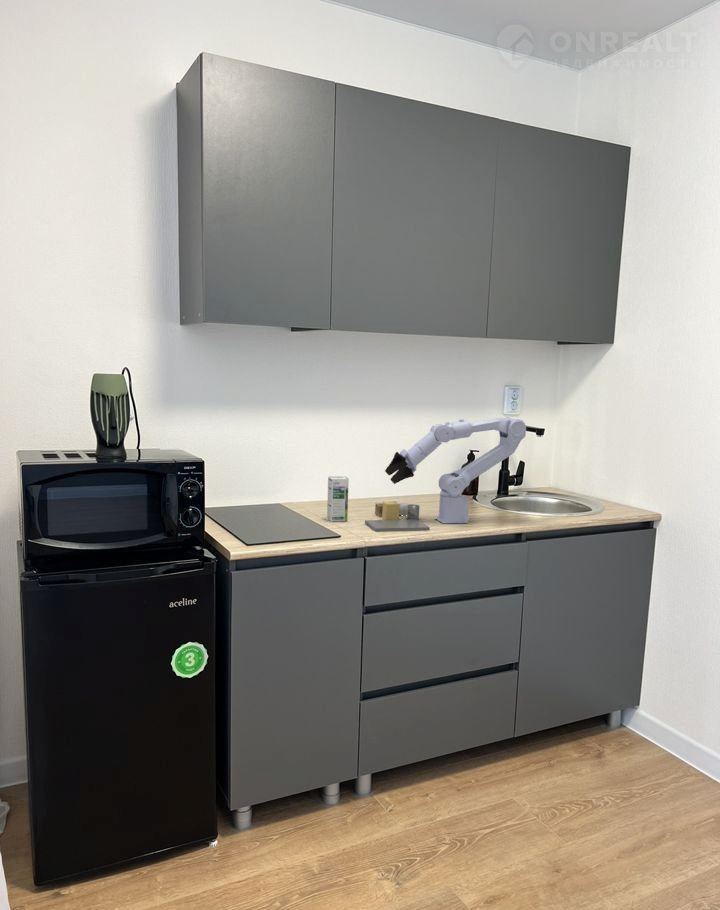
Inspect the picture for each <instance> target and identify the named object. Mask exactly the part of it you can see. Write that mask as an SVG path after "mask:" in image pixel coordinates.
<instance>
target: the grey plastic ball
mask: <svg viewBox="0 0 720 910" xmlns="http://www.w3.org/2000/svg"><path fill="white" fill-rule="evenodd" d="M398 503H399V502H398ZM399 504H400V508H399V515H403V516H406V515H407V511H408V505H409V504H410V503H406V502H404V503H403V502H402V503H399Z"/></svg>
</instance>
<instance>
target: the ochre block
mask: <svg viewBox="0 0 720 910" xmlns="http://www.w3.org/2000/svg"><path fill="white" fill-rule="evenodd" d="M382 503H383V510H382V517H381V520H400V516H399V508H400V504H399V502H397V501H382Z"/></svg>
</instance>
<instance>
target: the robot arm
mask: <svg viewBox="0 0 720 910" xmlns="http://www.w3.org/2000/svg"><path fill="white" fill-rule="evenodd" d="M485 431H497V432H498V434H499V443H498V444H497V446H495V447H493V448H492V449H490V450H489V451H487V452H485V453H484V454H482V455H481V456H480V457H478V458H476V459H474V460H473V461H471V462H469V463H468V464H467V465H465V466H464V467H462V468H460V469H456V470H454V471H452V472H450V473H444V474H442V475H441V476H440V477H439V479H438V487H439V489H440V493H439V506H438V507H439V508H438V516H435V517H434V519H435V520H436V519H437V520H436V521H438V522H439V523H442V524H463V523H464V524H465V523H466V524H468V523H470V521H469V510H470V509H469V506H470V505H469V498H468V496H467V495H463V494H462V493H463V492H464V490H465V489H466V488H467V487H469V486H470V483H471V481H473V480H475V479H476V478H478V477H480V476H481V475H483V474H484V473H485V472H487V471H488V470H490V469H492V468H493V467H495V466H497V465H498V464H499V463H501V462H502V461H504V460H506V459H507V458H509V457H510V456H512V455H513V454H514V453H515V452H516V450H517V449H518V447H519V445H520V443H521V442H522V441H523V439H525V438H526V433H527V425H526V422H524V420H522V419H519V418H517V419H516V418H512V417H507V416H506V417H494V418H490V419H486V420H481V421H475V422H472V423H471V422H470V421H469V420H464V419H463V418H460V419H458V421H454V422H449V421H446V422H445V424H435V425H431V427H430V430H429V432H428V433H427V434H425V435H424V436H423V437H422V438H420V439H419V440H418V441H417V442H416V443H415V444H413V445H412V446H411V447H410V448H409V449H408V450H406V449H404V448H403V449H402V450H401V451H400V452H398V451H396V452H395V453H394V456H393V458H392V460H391V462H390V463H389V464H388V466H387V467H386V468H385V470H384V472H385V473H386V474H387V475H388V476H391V478H390V479H389V480H390V481H391V482H392V484H394V485H396V484H397V483H399V482H401V481H404V480H405V479H408V478H413V477H414V476H415V474H414V473H415V472H416V471H417V466H419V464H420V463H422V462H423V461H424V460H425V459H426V458H427V457H428V456H429V455H431V454H432V453H433V452H434V451H436V449H438V447H440V446H441V445H442V444H443V443H445V444H447V443H448V442H450V441H454V440H459V439H465V438H470V437H471V435H472V434H473V433H478V432H479V433H480V432H485Z"/></svg>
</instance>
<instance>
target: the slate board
mask: <svg viewBox="0 0 720 910" xmlns="http://www.w3.org/2000/svg"><path fill="white" fill-rule="evenodd" d="M364 524H365V525H366V526H368V527H369V528H370V529H371V530H372V531H374V532H375V533H376V532H377V533H378V532H379V533H380V532H417V531H421V530H429V531H430V530H431V529H430V526H428V525H426V524H425V523H423V522H422V521H420V519H419V520H417V519H411V520H407V519H399V520H383V519H369V520H364Z"/></svg>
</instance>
